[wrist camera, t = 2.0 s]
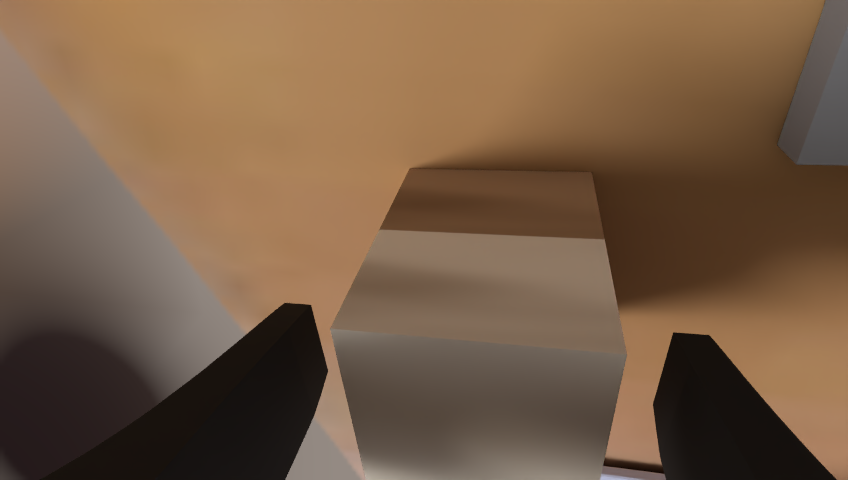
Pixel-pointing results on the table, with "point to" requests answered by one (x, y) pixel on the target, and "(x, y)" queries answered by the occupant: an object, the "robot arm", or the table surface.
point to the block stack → (484, 331)
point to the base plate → (821, 95)
